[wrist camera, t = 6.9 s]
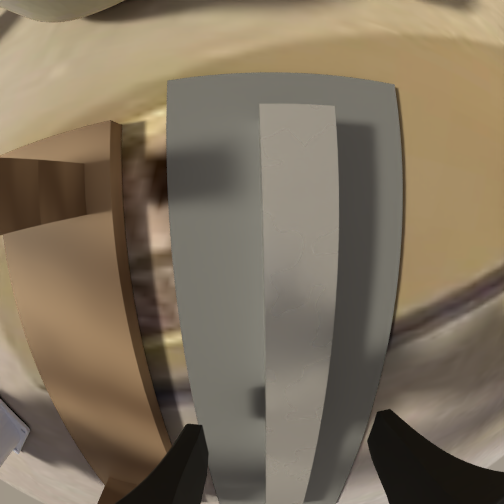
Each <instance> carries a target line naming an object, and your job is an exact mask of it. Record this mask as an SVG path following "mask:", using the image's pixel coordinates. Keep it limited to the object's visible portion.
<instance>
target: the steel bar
mask: <svg viewBox="0 0 504 504" xmlns="http://www.w3.org/2000/svg"><path fill="white" fill-rule="evenodd" d="M258 126H259V155H260V186H261V221H262V261H263V310H264V375H265V504H303V502H304V498H305V494H306V490H307V486H308V482H309V478H310V473H311V469H312V465H313V460H314V455H315V450H316V446H317V440H318V435H319V430H320V424H321V419H322V413H323V407H324V400H325V394H326V387H327V380H328V372H329V364H330V356H331V347H332V338H333V327H334V316H335V303H336V288H337V270H338V243H339V174H338V148H337V130H336V116H335V106H329V105H312V104H259V119H258Z"/></svg>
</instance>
